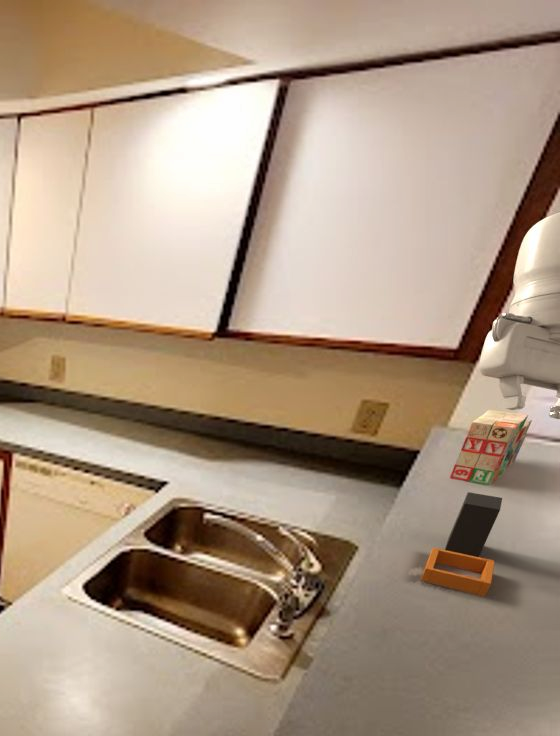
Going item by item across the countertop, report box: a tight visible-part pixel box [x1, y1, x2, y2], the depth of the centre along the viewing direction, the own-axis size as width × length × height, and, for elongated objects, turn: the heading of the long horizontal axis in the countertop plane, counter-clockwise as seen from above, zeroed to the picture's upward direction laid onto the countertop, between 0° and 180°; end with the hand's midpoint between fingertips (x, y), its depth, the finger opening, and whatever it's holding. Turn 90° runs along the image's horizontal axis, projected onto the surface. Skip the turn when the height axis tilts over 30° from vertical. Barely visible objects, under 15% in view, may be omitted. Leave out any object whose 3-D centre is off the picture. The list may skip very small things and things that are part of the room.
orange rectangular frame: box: [420, 547, 496, 597], centre depth 93 cm, size 8×11×4 cm
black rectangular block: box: [444, 491, 503, 558], centre depth 99 cm, size 4×6×10 cm, turn 135°
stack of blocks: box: [449, 409, 533, 486], centre depth 131 cm, size 21×6×12 cm, turn 126°
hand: (536, 413), depth 94 cm, fingers open, 8 cm apart
